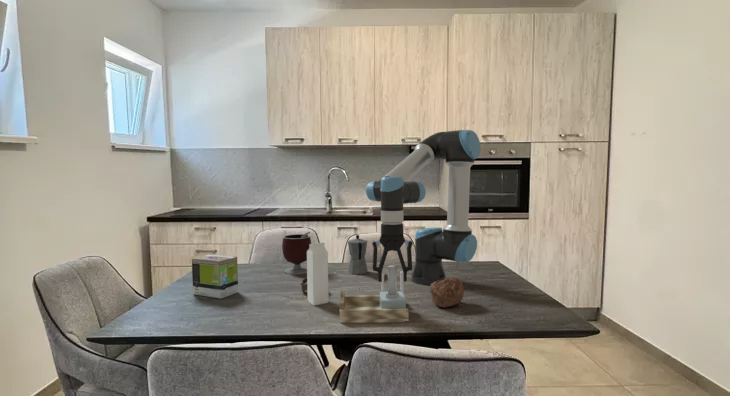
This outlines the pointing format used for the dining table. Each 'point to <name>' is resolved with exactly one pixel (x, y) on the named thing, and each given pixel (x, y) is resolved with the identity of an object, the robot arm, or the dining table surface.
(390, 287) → the cylinder on square plate
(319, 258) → the milk
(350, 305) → the tray
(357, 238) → the coffeepot
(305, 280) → the pottery mug
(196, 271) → the tea box
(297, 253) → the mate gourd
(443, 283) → the decorative rock
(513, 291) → the dining table surface
